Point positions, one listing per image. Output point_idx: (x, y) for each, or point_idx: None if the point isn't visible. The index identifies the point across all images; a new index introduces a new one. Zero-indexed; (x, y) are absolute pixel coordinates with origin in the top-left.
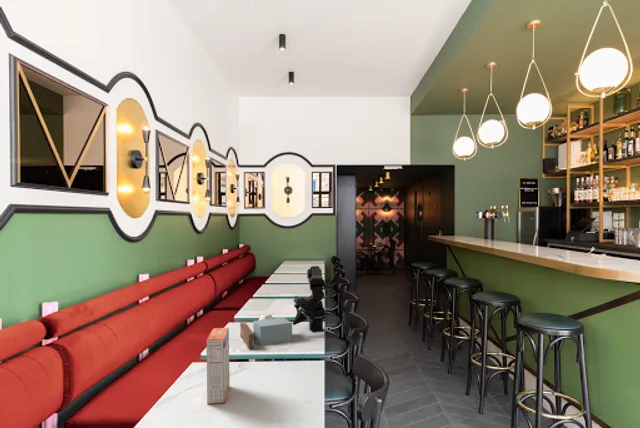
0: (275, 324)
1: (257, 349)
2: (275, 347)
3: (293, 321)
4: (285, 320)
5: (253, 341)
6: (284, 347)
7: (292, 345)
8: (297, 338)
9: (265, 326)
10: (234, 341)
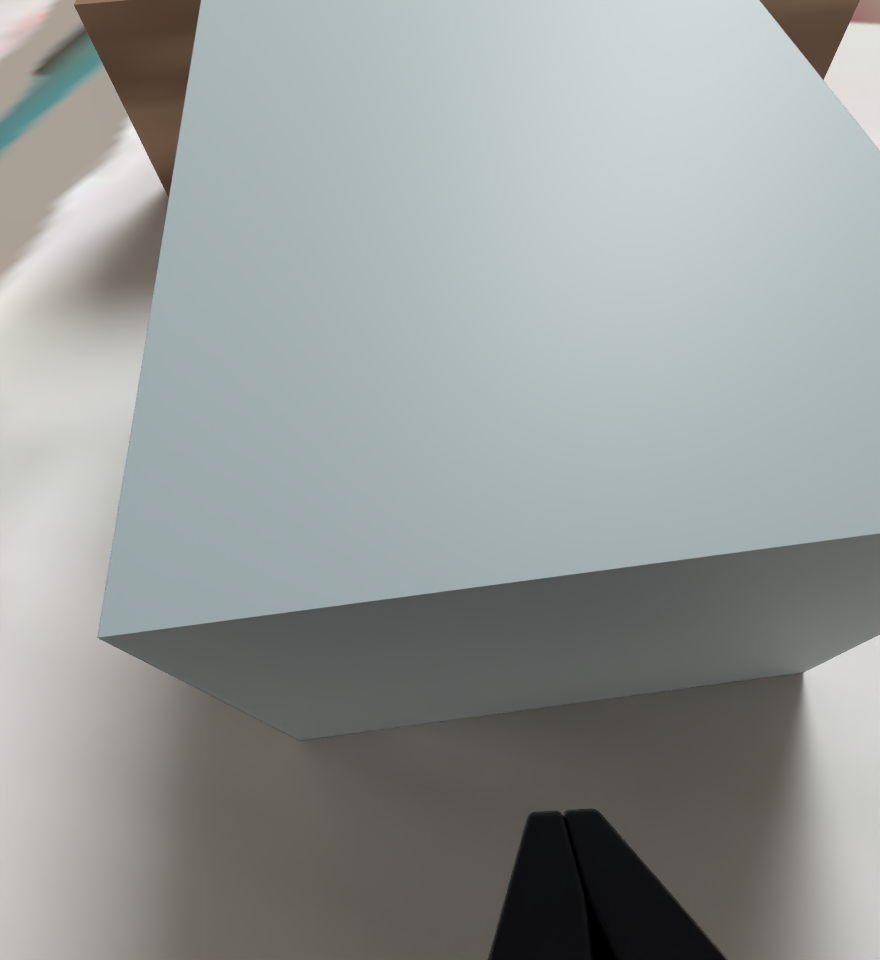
0: (197, 172)
1: (158, 234)
2: (102, 409)
3: (626, 872)
4: (581, 472)
5: (130, 110)
6: (18, 521)
7: (24, 671)
8: (419, 925)
9: (201, 46)
10: None
